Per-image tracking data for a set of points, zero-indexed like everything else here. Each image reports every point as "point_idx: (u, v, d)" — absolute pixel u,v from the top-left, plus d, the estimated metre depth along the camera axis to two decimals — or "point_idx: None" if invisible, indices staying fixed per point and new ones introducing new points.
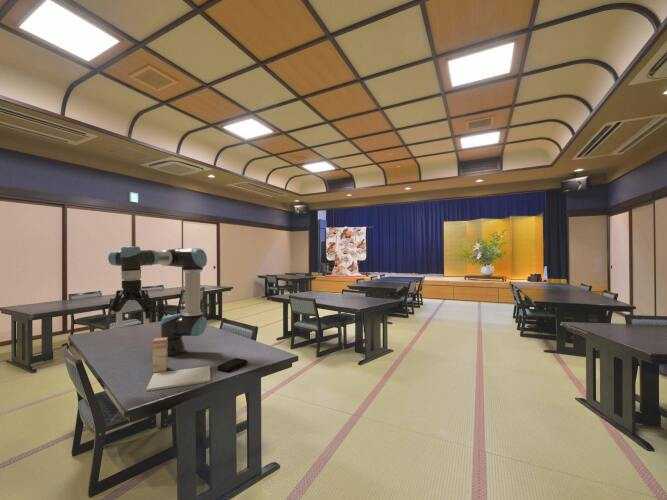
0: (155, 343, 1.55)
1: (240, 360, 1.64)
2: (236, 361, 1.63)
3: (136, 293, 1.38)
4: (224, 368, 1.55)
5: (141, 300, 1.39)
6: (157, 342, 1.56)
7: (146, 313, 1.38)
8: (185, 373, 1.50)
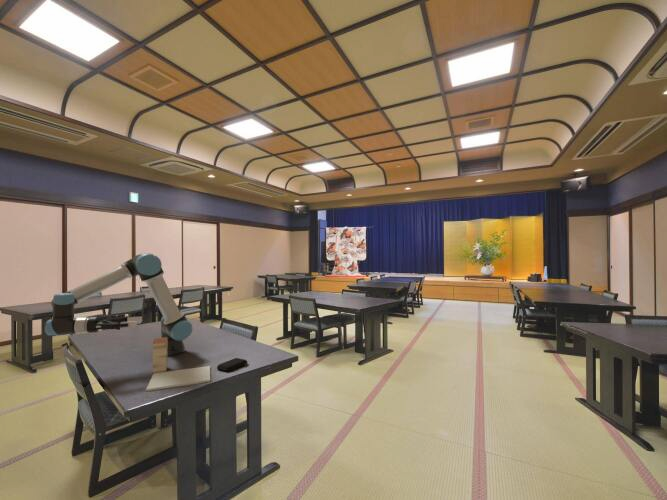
0: (155, 343, 1.55)
1: (240, 360, 1.65)
2: (236, 361, 1.63)
3: None
4: (224, 368, 1.55)
5: None
6: (157, 342, 1.56)
7: (122, 326, 1.46)
8: (185, 373, 1.50)
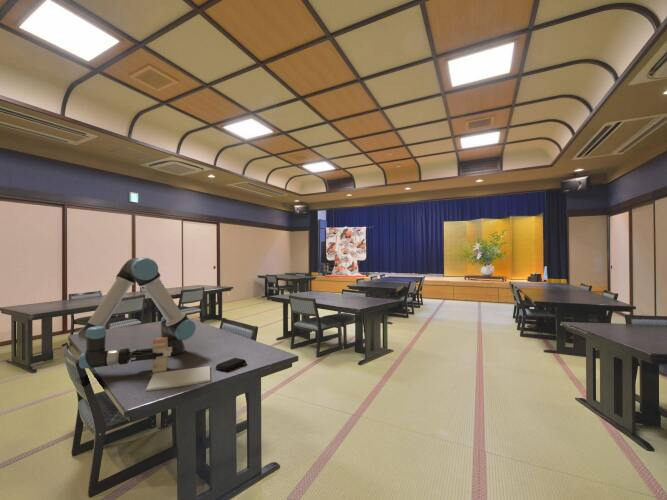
0: (155, 343, 1.55)
1: (238, 360, 1.65)
2: (234, 361, 1.63)
3: None
4: (222, 368, 1.56)
5: None
6: (157, 342, 1.56)
7: None
8: (185, 373, 1.50)
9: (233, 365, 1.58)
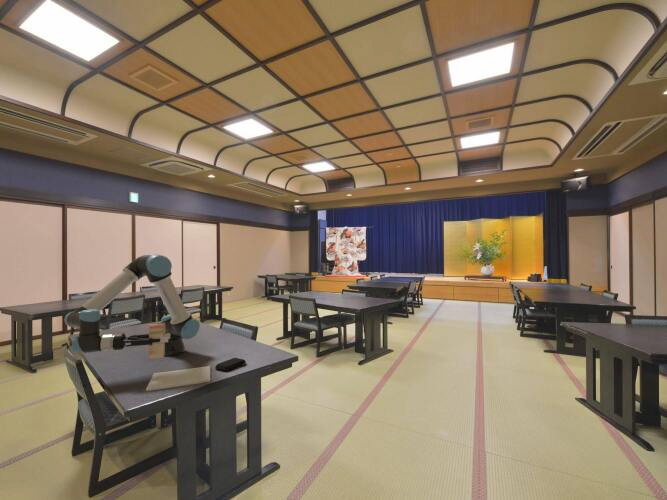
0: (152, 328, 1.47)
1: (238, 360, 1.65)
2: (234, 361, 1.63)
3: None
4: (222, 368, 1.56)
5: None
6: (154, 327, 1.47)
7: (154, 342, 1.46)
8: (185, 373, 1.50)
9: (233, 365, 1.58)
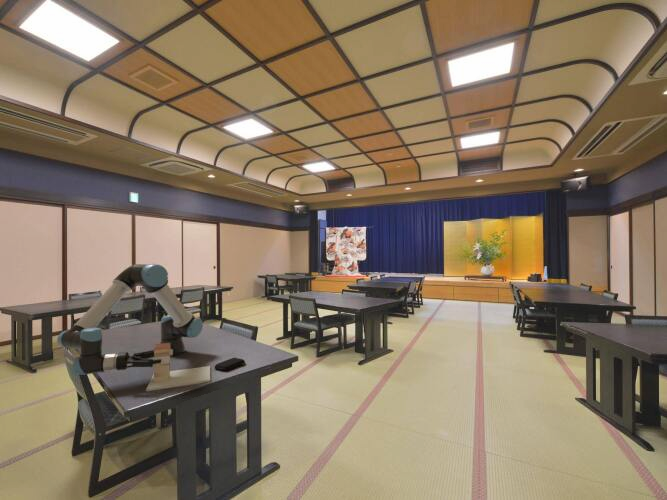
0: (157, 349, 1.41)
1: (237, 360, 1.65)
2: (233, 361, 1.64)
3: None
4: (221, 368, 1.56)
5: None
6: (159, 348, 1.41)
7: None
8: (185, 373, 1.50)
9: (232, 365, 1.59)
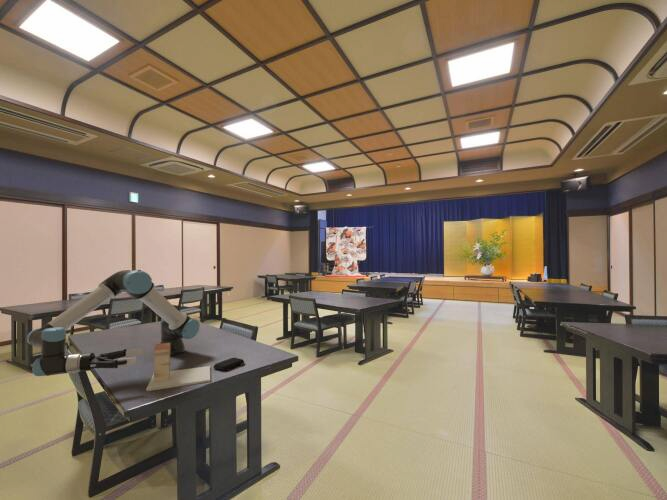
0: (157, 349, 1.41)
1: (236, 359, 1.65)
2: (232, 360, 1.64)
3: None
4: (220, 367, 1.56)
5: None
6: (159, 348, 1.41)
7: None
8: (185, 373, 1.50)
9: (231, 365, 1.59)
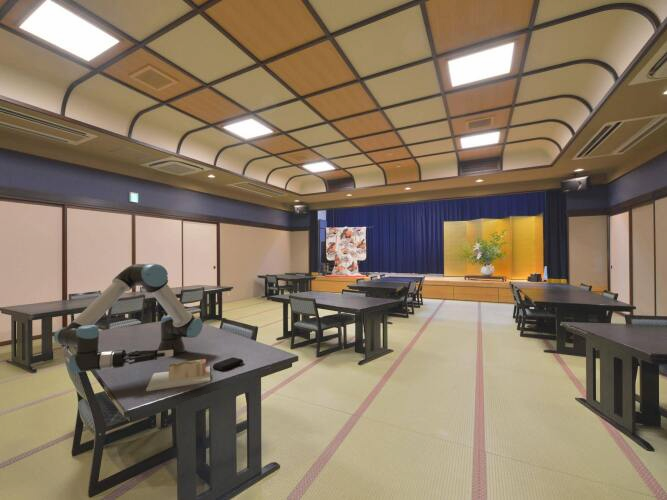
0: (202, 365, 1.48)
1: (235, 359, 1.66)
2: (231, 360, 1.64)
3: None
4: (219, 367, 1.57)
5: None
6: (203, 367, 1.48)
7: (158, 356, 1.42)
8: None
9: (230, 365, 1.59)
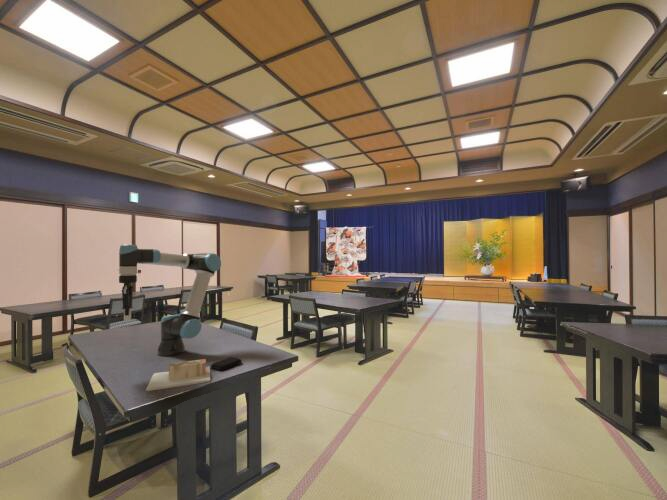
0: (202, 365, 1.48)
1: (234, 359, 1.66)
2: (230, 360, 1.65)
3: None
4: (217, 367, 1.57)
5: None
6: (203, 367, 1.48)
7: (125, 310, 1.52)
8: None
9: (228, 364, 1.60)
